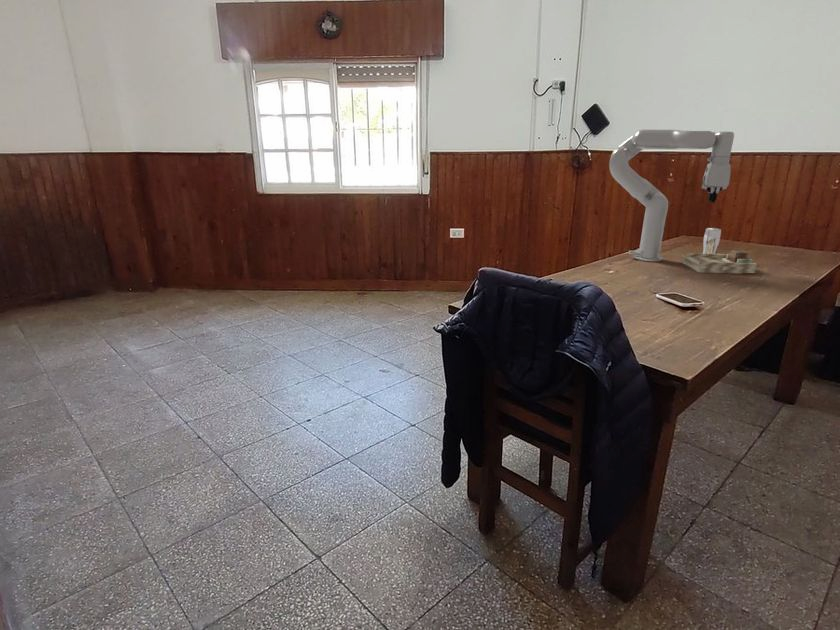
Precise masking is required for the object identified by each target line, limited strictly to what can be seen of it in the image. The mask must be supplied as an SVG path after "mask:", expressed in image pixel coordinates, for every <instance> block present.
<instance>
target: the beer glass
mask: <svg viewBox="0 0 840 630" xmlns="http://www.w3.org/2000/svg"><path fill="white" fill-rule="evenodd" d="M721 235H722V229H721V228H719V227H718V228H716V227H706V228H705V232H704V235H703V243H702V244H703V245H702V246H703V247H702V248H703V251H702V254H716V251H717V248H718V246H719V243H720V241H721Z"/></svg>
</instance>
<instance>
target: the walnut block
mask: <svg viewBox="0 0 840 630" xmlns="http://www.w3.org/2000/svg"><path fill="white" fill-rule="evenodd" d="M729 254H730V258H729V261H730V262H732V263H737V259H747V258H748V254H749V253H748V252H747V251H745V250H739V249H738V250H737V249H736V250H735V249H734V250H733V249H731V250H730V253H729Z"/></svg>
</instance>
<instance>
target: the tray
mask: <svg viewBox="0 0 840 630" xmlns="http://www.w3.org/2000/svg"><path fill="white" fill-rule="evenodd" d="M729 258H730V253H715V254H703V253H699V252H698V253H697V252H696V253H695V252H693V253H692V252H689V253H688V252H684V253H683V255H682V260H681V263H682V264H684V265H685V266H687V267H689V268H690V269H692V270H694V271H695V272H696V273H710V274H711V273H713V274H716V273H717V274H742V273H756V270H757V265H758V264H757V263H755V262H753V259H752V258H749V257H747V259H737V263H732V262H730V261H729Z"/></svg>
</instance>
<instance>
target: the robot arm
mask: <svg viewBox="0 0 840 630" xmlns="http://www.w3.org/2000/svg"><path fill="white" fill-rule="evenodd" d="M734 139H735V133H734V132H732V131H717V132H715V131H710V130H679V129H639V130H638V131H636V132H634V134H632V135H631V136H630V137H629V138H628V139H627V140H626V141H623V142H622V143H621V144H620V145H619V146H617V147H616V148H614V150H613V151H612V152H611V155H610V159H609V164H608V165H609V166H608V167H609V172H610V174H611V176H612V178H613V179H614V180H615V182H617V183H618V184H619V185H621V187H622V188H623V189H625V190H626V192H628V193H629V195H630V196H631V197H633V198H634V199H635V200H637V201H638V202H640V203H641V204H642V205H643V206H644V207H645V211H644V217H643V223H642V229H641V230H642V231H641V236H640V243H639V248H637V249H635V250H628V255H633V256H634V259H636V260H638V261H643V262H661V261H663V257H662V256H660V253H661V248H662V242H663V236H664V229H665V226H666V225H665V224H666V219H667V215H668V211H669V210H668V209H669V200H668V198H667V196H665V194H663V193H662V192H661V191H660V190H659V189H658V188H657V187H655V186H654V185H653V184H652V183H651V182H650V181H648V180H647V179H646V178H644V177H641V176H640V175H639V174H638V173H637V172H636V171H635V170H634V169H633V168H632V167H630V164H629V160H631V159H633V158H634V157H635V156H636V155H638V154H639V153H640V152H641V151H643V150H645V149H646V150H650V149H651V150H652V149H653V150H677V149H678V150H679V149H681V150H682V149H686V150H687V149H691V150H692V149H694V150H696V149H697V150H707V149H710V148H711V149H712V150H711V154H710V156H709V157H708V158H707V159H706V160H707V162H709V163H707V165H706V168H705V170H704V175H703V178H702V185H701V189H703V190H706V191H707V193H708V197H707V201H708V202H709V203H715V202H716V200H717V196H718V194H719V193H720V192H721V191H723V190H726V189H728V186H729V185H730V178H731V170H732V169H731V168H732V166H731V165H732V164H730V159H731V154H732V148H733V145H734V144H733V143H734Z"/></svg>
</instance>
